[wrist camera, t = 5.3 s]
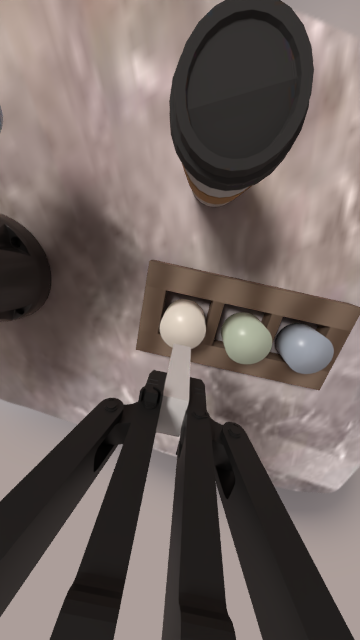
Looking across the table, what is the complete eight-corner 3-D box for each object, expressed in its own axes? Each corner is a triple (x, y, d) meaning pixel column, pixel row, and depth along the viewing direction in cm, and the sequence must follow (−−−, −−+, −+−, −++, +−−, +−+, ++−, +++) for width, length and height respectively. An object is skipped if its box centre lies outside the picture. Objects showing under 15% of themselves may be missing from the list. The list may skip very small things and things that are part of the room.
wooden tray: (140, 342, 33) (135, 349, 31) (153, 259, 29) (149, 260, 27) (310, 380, 33) (319, 390, 31) (349, 303, 29) (363, 308, 27)
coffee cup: (254, 208, 26) (323, 161, 12) (188, 222, 27) (180, 196, 13) (248, 127, 23) (327, -56, 9) (175, 146, 25) (148, 9, 10)
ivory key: (161, 332, 29) (156, 344, 26) (168, 295, 28) (164, 302, 24) (199, 340, 29) (199, 354, 26) (209, 304, 28) (211, 313, 24)
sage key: (216, 344, 29) (219, 359, 26) (227, 308, 28) (232, 317, 24) (254, 353, 29) (263, 368, 26) (267, 317, 28) (279, 328, 24)
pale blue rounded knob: (269, 353, 30) (279, 368, 27) (283, 318, 29) (296, 329, 25) (306, 361, 30) (321, 378, 27) (322, 327, 29) (341, 339, 25)
